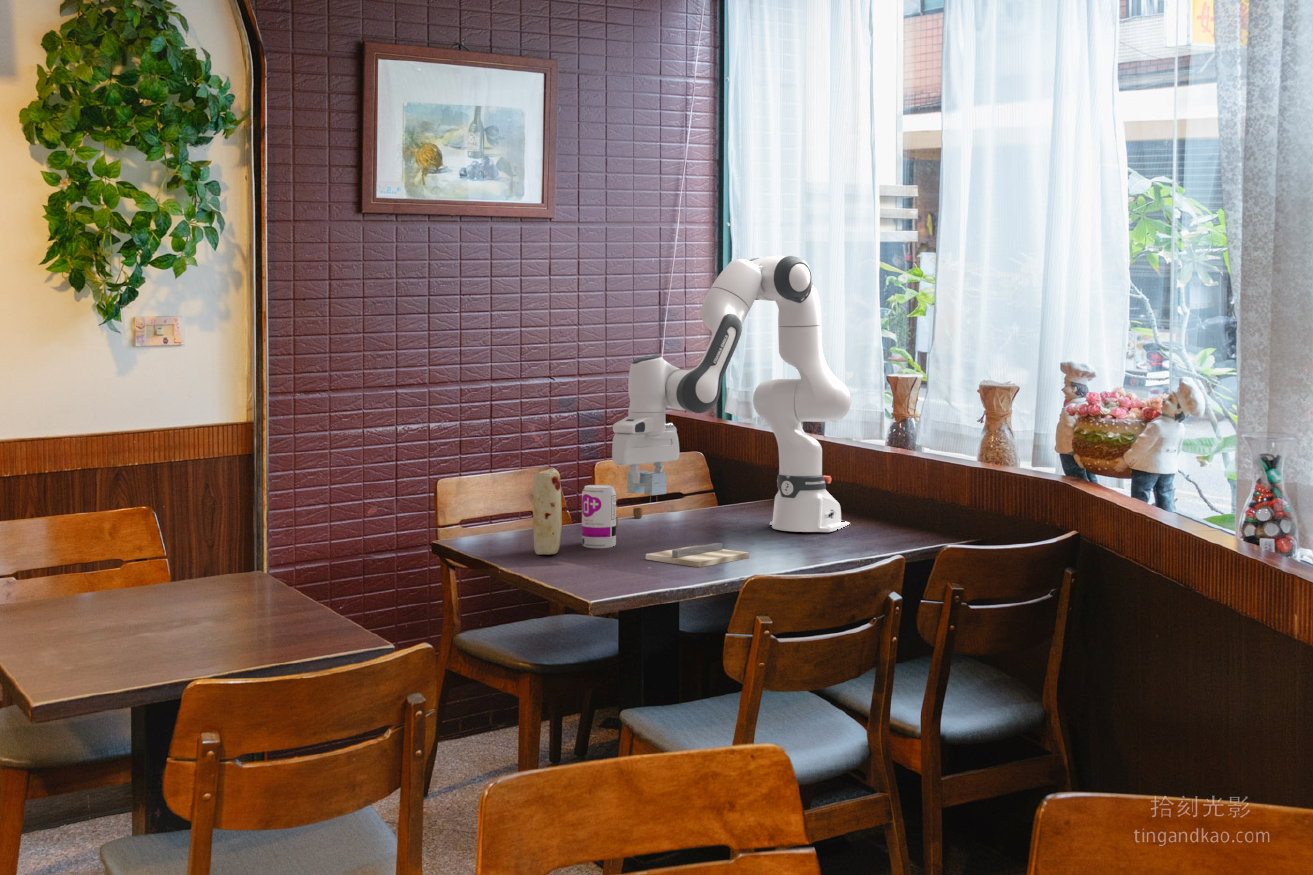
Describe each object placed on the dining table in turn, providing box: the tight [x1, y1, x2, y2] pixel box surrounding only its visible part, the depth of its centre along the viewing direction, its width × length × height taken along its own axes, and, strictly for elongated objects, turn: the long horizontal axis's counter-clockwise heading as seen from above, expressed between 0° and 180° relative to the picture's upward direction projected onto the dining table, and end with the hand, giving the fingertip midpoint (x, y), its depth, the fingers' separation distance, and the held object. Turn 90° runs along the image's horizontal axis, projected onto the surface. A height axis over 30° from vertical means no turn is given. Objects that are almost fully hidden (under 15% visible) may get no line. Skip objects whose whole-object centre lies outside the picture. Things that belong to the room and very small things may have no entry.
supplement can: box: [581, 484, 617, 549], centre depth 290 cm, size 8×8×15 cm
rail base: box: [645, 545, 750, 568], centre depth 275 cm, size 18×16×1 cm
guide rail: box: [671, 542, 723, 558], centre depth 275 cm, size 16×2×2 cm, turn 138°
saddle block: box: [626, 470, 667, 496], centre depth 285 cm, size 5×8×5 cm, turn 48°
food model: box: [532, 468, 563, 556], centre depth 280 cm, size 10×7×20 cm
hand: (646, 482), depth 285 cm, fingers closed on saddle block, 5 cm apart
